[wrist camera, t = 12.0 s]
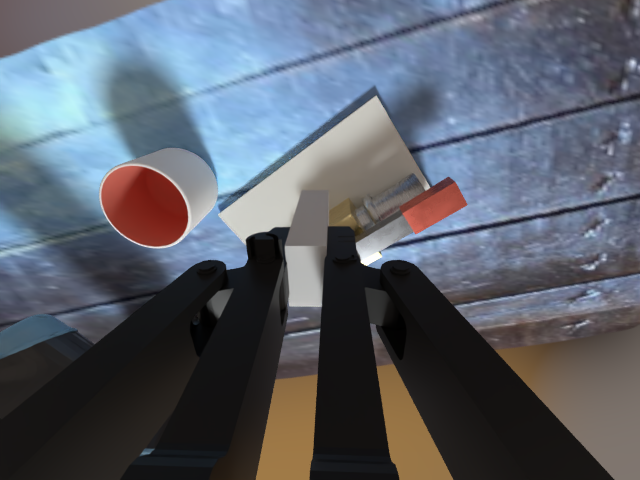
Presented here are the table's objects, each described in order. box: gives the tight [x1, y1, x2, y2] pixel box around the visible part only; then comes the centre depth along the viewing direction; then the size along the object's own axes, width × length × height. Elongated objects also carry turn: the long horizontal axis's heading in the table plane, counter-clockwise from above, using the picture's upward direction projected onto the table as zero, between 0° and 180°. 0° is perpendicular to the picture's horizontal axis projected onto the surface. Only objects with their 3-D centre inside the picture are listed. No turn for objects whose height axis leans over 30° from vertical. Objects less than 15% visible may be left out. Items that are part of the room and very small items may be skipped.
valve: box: [329, 173, 426, 265], centre depth 41 cm, size 24×7×7 cm, turn 126°
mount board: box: [218, 95, 430, 245], centre depth 43 cm, size 26×17×1 cm, turn 126°
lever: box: [355, 177, 467, 261], centre depth 35 cm, size 16×4×2 cm, turn 126°
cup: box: [99, 148, 218, 248], centre depth 38 cm, size 10×10×10 cm
